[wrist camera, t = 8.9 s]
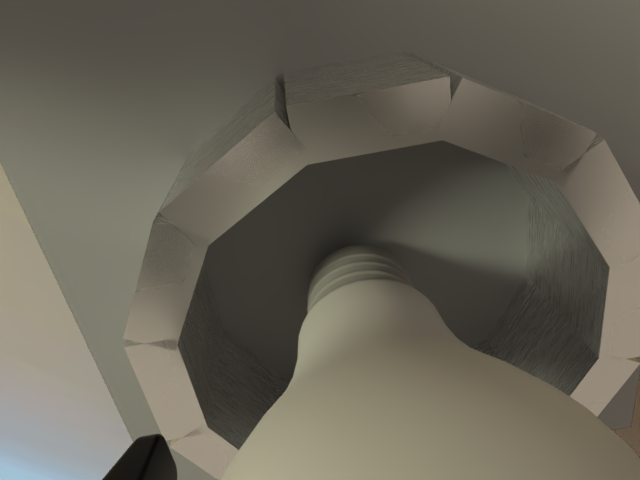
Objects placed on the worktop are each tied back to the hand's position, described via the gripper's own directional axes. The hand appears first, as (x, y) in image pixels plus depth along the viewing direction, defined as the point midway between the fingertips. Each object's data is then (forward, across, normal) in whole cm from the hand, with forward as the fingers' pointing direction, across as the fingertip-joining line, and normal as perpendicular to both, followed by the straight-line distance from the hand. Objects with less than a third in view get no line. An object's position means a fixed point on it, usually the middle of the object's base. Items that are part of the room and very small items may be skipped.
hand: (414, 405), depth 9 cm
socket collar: (+5, 0, 0) cm, 5 cm away
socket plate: (+6, 0, 0) cm, 6 cm away
